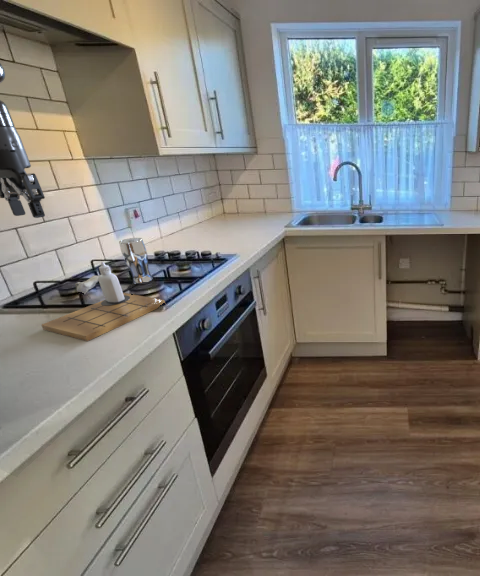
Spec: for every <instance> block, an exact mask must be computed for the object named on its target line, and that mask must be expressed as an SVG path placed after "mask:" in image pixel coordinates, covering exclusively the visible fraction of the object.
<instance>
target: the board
mask: <svg viewBox="0 0 480 576" xmlns="http://www.w3.org/2000/svg"><path fill="white" fill-rule="evenodd" d="M131 294H132V293H127V292H123V295H124V298H125V299H124V300H123V301H120V302H117V303H111V302H107V301H106V300H105V299H103V300H101V301H98V302H96V303H93V304H91V305H88V306H86V307H85V306H84V307H82V308H80V309H78V310H75V311H72V312H70V313H68V314H64V315H62V316H59V317H58V318H54V319H52V320H50V321H47V322H45V323H42V324H41V327H42V329H43V331H48V332H50V333H55V334H58V335H63V336H67V337H69V338H70V337H71V338H73V339H76V340H77V339H78V340H81V341H85V342H89V341H91V340H93V339H95V338H98V337H99V336H102V335H103V334H106V333H108V332H111V331H112V330H115V329H117V328H119V327H121V326H123V325H126V324H127V323H130V322H132V321H134V320H136V319H138V318H140V317H143V316H144V315H147V314H148V313H151V312H153V311H155V310H158V309H159V308H160V307H159V306H160V305H162V304H163V303H165V304H166V301H165V300H164V299H160V298H155V297H150V296H149V297H148V296H144V295H138V294H133V295H131ZM158 307H159V308H158Z"/></svg>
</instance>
